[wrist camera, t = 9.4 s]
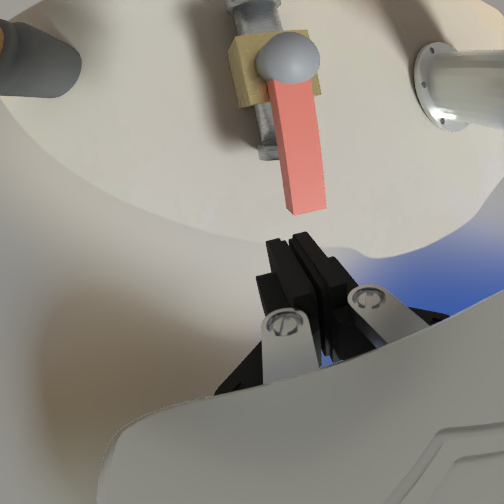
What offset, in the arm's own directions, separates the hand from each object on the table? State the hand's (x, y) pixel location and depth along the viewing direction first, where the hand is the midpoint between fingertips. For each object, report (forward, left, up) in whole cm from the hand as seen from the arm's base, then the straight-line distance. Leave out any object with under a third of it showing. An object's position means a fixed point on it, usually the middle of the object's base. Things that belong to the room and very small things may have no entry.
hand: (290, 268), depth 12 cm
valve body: (-5, -10, -19) cm, 22 cm away
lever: (-5, -5, -13) cm, 15 cm away
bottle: (+15, -17, -19) cm, 30 cm away
